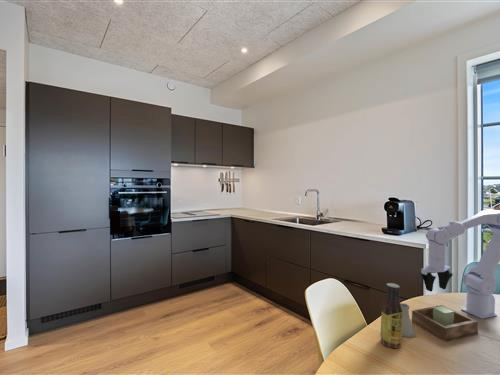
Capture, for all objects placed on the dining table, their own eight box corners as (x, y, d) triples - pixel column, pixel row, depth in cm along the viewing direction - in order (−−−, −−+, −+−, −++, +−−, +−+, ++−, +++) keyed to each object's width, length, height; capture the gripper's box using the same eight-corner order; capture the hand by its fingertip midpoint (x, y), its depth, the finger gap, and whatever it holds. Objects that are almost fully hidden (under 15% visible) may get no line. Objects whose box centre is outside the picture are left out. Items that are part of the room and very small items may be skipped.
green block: (441, 321, 101) (442, 306, 101) (453, 327, 97) (454, 311, 97) (432, 323, 100) (433, 307, 100) (444, 329, 95) (445, 313, 95)
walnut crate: (441, 315, 107) (442, 305, 107) (477, 333, 94) (478, 321, 94) (411, 321, 102) (412, 310, 102) (445, 341, 90) (445, 328, 89)
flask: (409, 327, 98) (409, 301, 98) (419, 338, 91) (420, 310, 91) (389, 326, 99) (389, 300, 99) (397, 337, 92) (398, 309, 91)
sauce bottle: (393, 351, 84) (395, 290, 83) (376, 341, 89) (377, 283, 89) (406, 346, 87) (407, 286, 86) (388, 336, 92) (389, 280, 92)
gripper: (439, 253, 116) (439, 283, 116) (414, 256, 111) (414, 287, 112) (456, 258, 109) (455, 290, 109) (430, 261, 105) (429, 294, 105)
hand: (435, 289), depth 110 cm, fingers open, 7 cm apart
